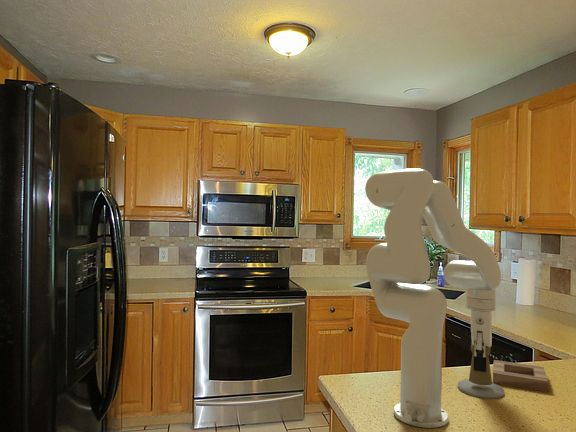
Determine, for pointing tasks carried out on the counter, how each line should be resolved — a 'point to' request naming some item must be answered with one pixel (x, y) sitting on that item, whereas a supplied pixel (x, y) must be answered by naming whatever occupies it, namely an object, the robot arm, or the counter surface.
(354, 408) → the counter surface
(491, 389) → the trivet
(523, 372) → the frame
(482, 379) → the cork
